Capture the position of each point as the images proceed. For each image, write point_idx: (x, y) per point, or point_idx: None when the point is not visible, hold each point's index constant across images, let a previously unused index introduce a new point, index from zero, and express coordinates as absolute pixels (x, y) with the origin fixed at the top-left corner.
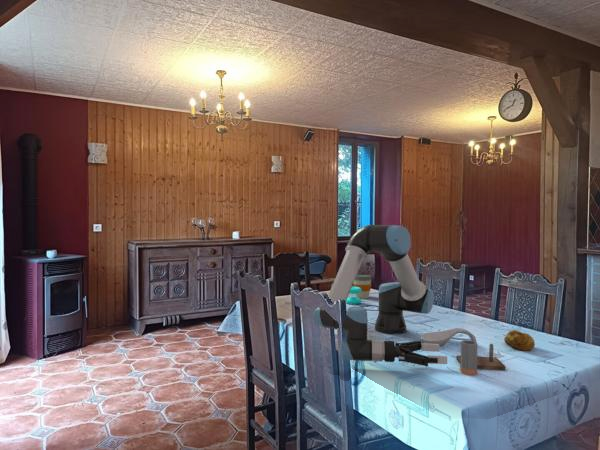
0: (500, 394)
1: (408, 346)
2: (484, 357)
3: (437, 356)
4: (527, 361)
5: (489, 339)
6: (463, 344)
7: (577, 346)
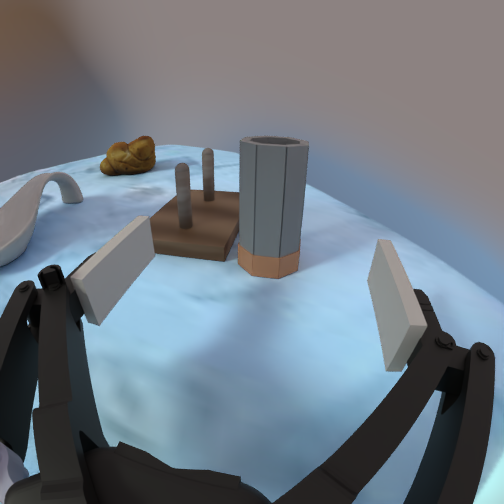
0: (427, 254)
1: (75, 415)
2: (176, 201)
3: (405, 277)
4: (202, 176)
5: None
6: (290, 152)
7: (163, 148)
